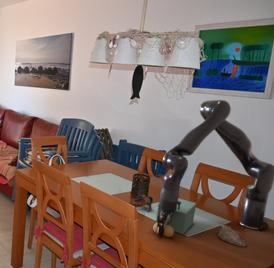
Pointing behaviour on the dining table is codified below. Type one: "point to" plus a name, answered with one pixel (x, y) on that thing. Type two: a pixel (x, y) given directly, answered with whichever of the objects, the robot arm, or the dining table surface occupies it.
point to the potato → (167, 231)
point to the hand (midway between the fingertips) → (162, 233)
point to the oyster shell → (230, 236)
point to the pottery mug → (148, 202)
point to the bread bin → (180, 220)
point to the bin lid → (184, 206)
